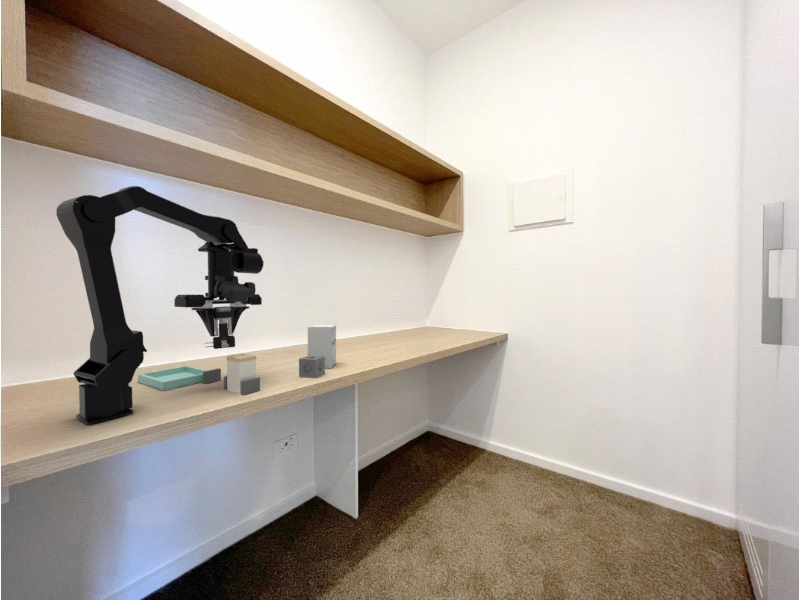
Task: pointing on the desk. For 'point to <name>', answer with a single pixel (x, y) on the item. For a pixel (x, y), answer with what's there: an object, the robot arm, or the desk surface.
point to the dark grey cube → (311, 366)
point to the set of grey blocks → (215, 375)
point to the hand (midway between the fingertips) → (222, 335)
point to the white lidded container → (239, 370)
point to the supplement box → (323, 343)
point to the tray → (172, 377)
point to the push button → (223, 328)
